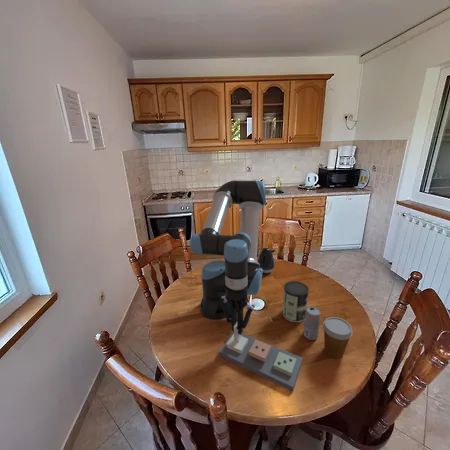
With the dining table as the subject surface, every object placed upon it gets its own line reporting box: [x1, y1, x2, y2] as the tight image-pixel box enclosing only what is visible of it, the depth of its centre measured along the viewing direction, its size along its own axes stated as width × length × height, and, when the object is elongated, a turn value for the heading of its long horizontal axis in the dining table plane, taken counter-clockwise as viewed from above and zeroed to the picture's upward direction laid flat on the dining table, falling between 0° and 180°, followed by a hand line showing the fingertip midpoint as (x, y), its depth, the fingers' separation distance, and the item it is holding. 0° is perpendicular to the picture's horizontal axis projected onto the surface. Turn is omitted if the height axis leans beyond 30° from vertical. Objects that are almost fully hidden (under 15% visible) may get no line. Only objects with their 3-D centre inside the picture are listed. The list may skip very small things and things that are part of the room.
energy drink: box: [303, 305, 322, 341], centre depth 93 cm, size 5×5×12 cm
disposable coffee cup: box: [322, 316, 354, 360], centre depth 85 cm, size 10×10×12 cm
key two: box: [249, 339, 271, 362], centre depth 84 cm, size 6×6×4 cm
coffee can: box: [282, 280, 310, 323], centre depth 104 cm, size 10×10×14 cm
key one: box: [226, 334, 248, 354], centre depth 89 cm, size 6×6×4 cm
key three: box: [273, 352, 296, 376], centre depth 80 cm, size 6×6×4 cm
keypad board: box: [218, 331, 303, 392], centre depth 85 cm, size 27×12×2 cm, turn 60°
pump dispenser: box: [257, 247, 276, 274], centre depth 140 cm, size 10×10×15 cm
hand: (237, 338), depth 88 cm, fingers closed
